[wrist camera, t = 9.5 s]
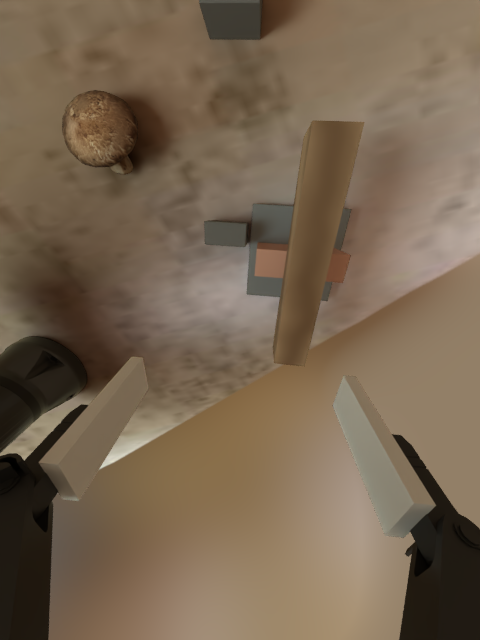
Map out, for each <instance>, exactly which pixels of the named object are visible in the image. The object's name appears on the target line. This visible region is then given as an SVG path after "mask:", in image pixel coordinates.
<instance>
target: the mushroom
mask: <svg viewBox="0 0 480 640" xmlns="http://www.w3.org/2000/svg"><path fill="white" fill-rule="evenodd" d="M62 131H63V135H64V139H65V142H66V145H67V147H68V149H69V150H70V152H71V153H72V154H73V155H74V156H75V157H76V158H77V159H78V160H79V161H80V162H81V163H83V164H85V165H89V166H93V167H110V168H111V170H113V171H114V172H116V173H119V174H122V175H124V174H128V173H130V172H132V170H133V164H132V162H131V160H130V159H129V157H128V154H129V153H130V152H131V151H132V150H133V148H134V145H135V143H136V141H137V138H138V124H137V120H136V117H135V115H134V114H133V112H132V110H131V109H130V107H129V106H128V104H127V103H126V102H124V101H123V100H122V99H120V98H119V97H117V96H115V95H112V94H110V93H107V92H104V91H97V90H94V91H88V92H85V93H83V94H80V95H78V96H76V97H75V98H74V99H73V100H72V101H71V102H70V103H69V104H68V105H67V107H66V110H65V113H64V115H63V121H62Z"/></svg>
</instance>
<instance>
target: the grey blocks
mask: <svg viewBox="0 0 480 640" xmlns="http://www.w3.org/2000/svg"><path fill="white" fill-rule="evenodd" d="M199 4H200V7H201V10H202V14H203V17H204V20H205V24H206V27H207V31H208V34H209V37H210V39H260V32H261V16H262V0H199ZM204 223H205V244H207V245H221V246H236V247H245V246H246V244H247V236H248V223H245V222H228V221H204Z"/></svg>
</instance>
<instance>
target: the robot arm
mask: <svg viewBox="0 0 480 640" xmlns="http://www.w3.org/2000/svg"><path fill="white" fill-rule="evenodd" d="M86 382H87V375H86V372H85V369H84V367H83V365H82V364H81V362H80V361H79V360H78V359H77V357H76V356H75V355H74V354H73V353H71V352H70V351H69V350H68V349H66V348H65V347H63V346H62V345H60V344H58V343H56V342H54V341H52V340H49V339H46V338H41V337H26V338H23V339H21V340H19V341H17V342H15V343H13V344H12V345H10V346H9V347H7V348H6V349H5V351H4V352H3V353H2V354H1V355H0V453H1V452H2V451H3V450H4V449H5V448H6V447H7V446H8V445H9V444H11V443H12V442H13V441H14V440H15V439H16V438H17V437H18V436H19V435H20V434H21V433H23V432H24V431H25V430H26V429H27V428H28V427H29V426H30V425H31V424H32V423H33V422H34V421H36V420H37V419H38V418H39V417H40V416H41V415H42V414H44V413H46V412H48V411H50V410H51V409H53V408H55V407H57V406H59V405H61V404H62V403H64V402H66V401H68V400H70V399H72V398H73V397H75V396H76V395H77V394H78V393H79V392H80V391H81V390H82V389H83V388H84V387H85V385H86ZM148 389H149V387H148V382H147V377H146V371H145V366H144V361H143V357H131V358H130V359H129V360H128V361H127V362H126V363H125V365H124V366H123V367H122V368H121V369H120V370H119V371H118V373H117V374H116V375H115V376H114V377H113V378H112V379H111V381H110V382H109V383H108V384H107V385H106V386H105V387H104V388H103V390H102V391H101V392H100V393H99V394H98V395H97V396H96V398H95V399H94V400H93V401H92V402H91V403H90V404H89V405H82V404H81V405H80V406H79V407H77V408H76V409H74V410H73V411H71V412H70V413H69V414H68V415H67V416H66V417H65V418H64V419H63V420H62V421H61V423H60V424H59V425H58V426H57V427H56V428H55V429H54V431H52V432H51V433H50V434H49V435H48V436H47V437H46V438H45V439H44V440H43V442H42V443H41V444H40V445H39V446H38V447H37V448H36V449H35V450H34V451H33V452H32V453H31V454H30V455H29V456H28V457H27V459H26V460H25V461H24V460H23V459H22V457H21V456H20V455H18V454H6V455H3V456H0V640H48V634H49V605H50V579H51V578H50V577H51V551H52V550H51V548H52V524H53V523H52V522H53V503H52V500H53V498H54V497H55V496H56V494H57V493H59V495H60V496H61V498H62V499H67V500H76V501H80V499H81V497H82V496H83V494H84V493H85V491H86V489H87V488H88V486H89V484H90V483H91V481H92V479H93V478H94V476H95V475H96V473H97V471H98V470H99V468H100V467H101V465H102V463H103V462H104V460H105V458H106V457H107V455H108V454H109V452H110V450H111V449H112V447H113V446H114V444H115V442H116V441H117V439H118V437H119V436H120V434H121V433H122V431H123V429H124V428H125V426H126V424H127V423H128V421H129V420H130V418H131V416H132V415H133V413H134V412H135V410H136V408H137V407H138V405H139V403H140V402H141V400H142V399H143V397H144V395H145V394H146V392H147V390H148ZM333 408H334V411H335V413H336V416H337V418H338V420H339V423H340V425H341V428H342V430H343V433H344V435H345V438H346V440H347V443H348V445H349V447H350V450H351V453H352V455H353V457H354V460H355V462H356V465H357V467H358V470H359V472H360V475H361V477H362V480H363V482H364V485H365V487H366V489H367V491H368V495H369V497H370V499H371V502H372V504H373V507H374V509H375V511H376V514H377V517H378V519H379V522H380V524H381V527H382V529H383V531H384V534H385V536H392V537H401V538H404V537H405V536H406V535H407V534H408V533H409V532H411V534H412V536H413V538H414V540H415V543H413V544H412V545H411V546H410V547H409V548H408V549H407V551H406V553H405V554H406V555H407V556H409V555H411V554H412V556H411V563H410V570H409V577H408V584H407V591H406V597H405V605H404V611H403V618H402V625H401V632H400V639H399V640H480V529H479V528H478V527H477V526H476V525H475V524H474V523H472V522H471V521H470V520H469V519H467V518H466V517H464V516H462V515H460V514H458V512H457V511H456V510H455V508H454V507H453V506H452V504H451V503H450V501H449V500H448V498H447V497H446V495H445V494H444V492H443V491H442V489H441V488H440V487H439V485H438V484H437V482H436V481H435V479H434V478H433V476H432V475H431V473H430V472H429V470H427V469H426V466H425V464H424V463H423V461H422V460H420V458H419V456H418V454H417V453H416V451H415V450H414V448H413V447H412V445H411V444H410V443H408V442H407V441H406V440H405V439H404V438H403V437H402V436H401V435H393V434H391V433H390V431H389V429H388V427H387V426H386V424H385V423H384V421H383V419H382V418H381V416H380V415H379V413H378V412H377V410H376V408H375V407H374V405H373V404H372V402H371V400H370V399H369V397H368V396H367V394H366V392H365V391H364V389H363V387H362V386H361V384H360V383H359V381H358V379H357V378H356V377H355V376H343V379H342V381H341V384H340V387H339V390H338V392H337V395H336V398H335V400H334V403H333Z"/></svg>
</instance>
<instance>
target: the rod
mask: <svg viewBox="0 0 480 640" xmlns="http://www.w3.org/2000/svg"><path fill="white" fill-rule="evenodd" d="M363 126H364V122H342V121H312V123H311V125H310V127H309V129H308V131H307V132H306V134H305V136H304V140H303V147H302V153H301V160H300V167H299V174H298V180H297V187H296V194H295V201H294V207H293V214H292V221H291V228H290V234H289V241H288V248H287V255H286V261H285V268H284V275H283V281H282V288H281V295H280V302H279V308H278V315H277V322H276V329H275V335H274V342H273V354H274V363H277V364H287V365H296V366H305V363H306V358H307V355H308V350H309V346H310V342H311V338H312V334H313V330H314V326H315V322H316V318H317V314H318V310H319V305H320V301H321V297H322V293H323V289H324V285H325V281H326V277H327V273H328V269H329V265H330V261H331V256H332V252H333V248H334V244H335V240H336V236H337V232H338V228H339V224H340V220H341V216H342V212H343V207H344V203H345V199H346V195H347V191H348V187H349V183H350V179H351V175H352V171H353V167H354V163H355V158H356V154H357V150H358V146H359V142H360V138H361V134H362V130H363Z"/></svg>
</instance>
